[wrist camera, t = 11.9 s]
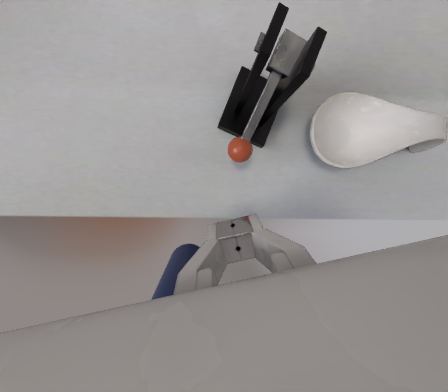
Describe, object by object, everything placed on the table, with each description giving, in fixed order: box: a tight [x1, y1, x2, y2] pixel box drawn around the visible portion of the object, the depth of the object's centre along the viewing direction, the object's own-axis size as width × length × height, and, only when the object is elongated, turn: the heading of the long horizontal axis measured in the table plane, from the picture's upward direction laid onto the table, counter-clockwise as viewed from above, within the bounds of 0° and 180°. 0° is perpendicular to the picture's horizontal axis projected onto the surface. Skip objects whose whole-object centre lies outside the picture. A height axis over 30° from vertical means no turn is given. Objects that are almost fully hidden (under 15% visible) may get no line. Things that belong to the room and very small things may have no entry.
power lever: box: [228, 29, 307, 162], centre depth 18 cm, size 13×3×3 cm, turn 156°
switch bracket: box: [218, 2, 327, 148], centre depth 20 cm, size 10×8×13 cm
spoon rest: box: [310, 92, 448, 168], centre depth 26 cm, size 24×12×7 cm, turn 91°
